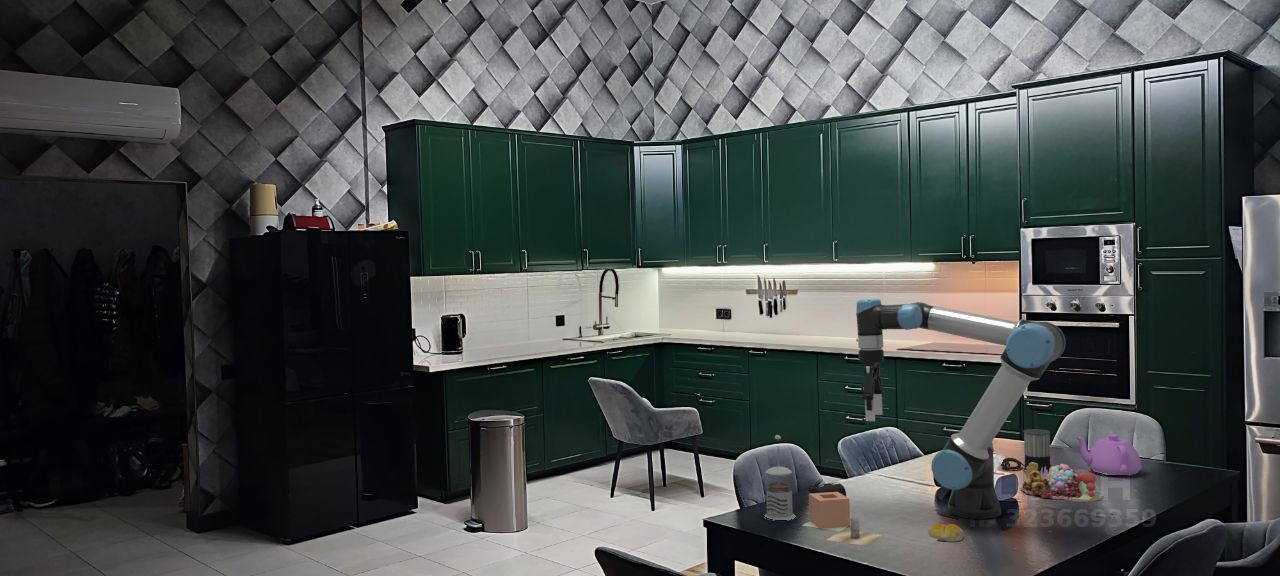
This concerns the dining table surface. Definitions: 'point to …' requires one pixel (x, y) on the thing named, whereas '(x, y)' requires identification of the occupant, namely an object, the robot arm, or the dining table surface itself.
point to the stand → (855, 535)
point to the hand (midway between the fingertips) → (874, 417)
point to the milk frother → (1033, 450)
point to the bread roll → (946, 532)
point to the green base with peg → (810, 524)
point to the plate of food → (1061, 483)
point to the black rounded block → (828, 488)
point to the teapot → (1111, 456)
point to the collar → (829, 510)
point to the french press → (778, 494)
